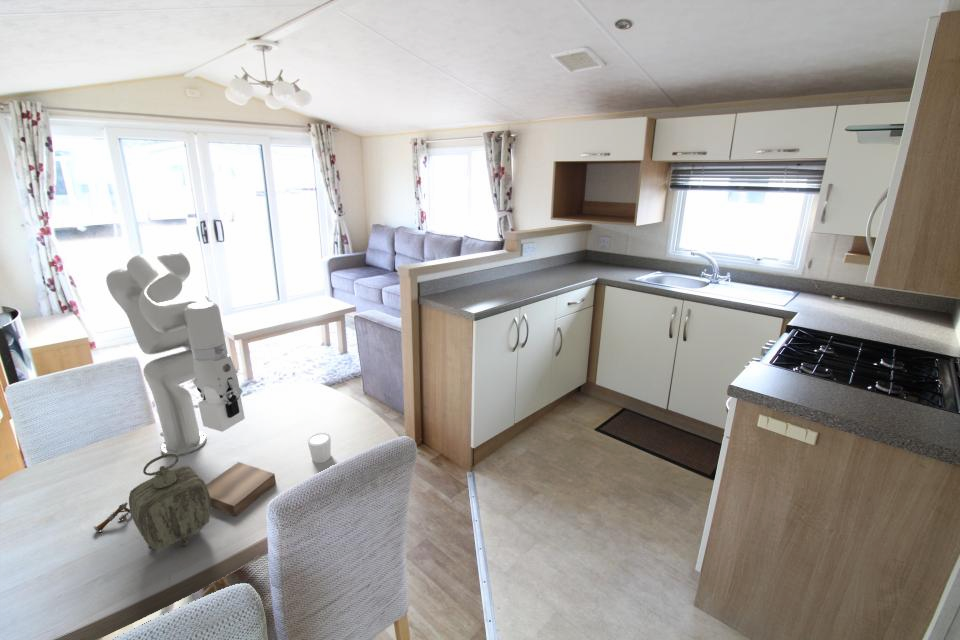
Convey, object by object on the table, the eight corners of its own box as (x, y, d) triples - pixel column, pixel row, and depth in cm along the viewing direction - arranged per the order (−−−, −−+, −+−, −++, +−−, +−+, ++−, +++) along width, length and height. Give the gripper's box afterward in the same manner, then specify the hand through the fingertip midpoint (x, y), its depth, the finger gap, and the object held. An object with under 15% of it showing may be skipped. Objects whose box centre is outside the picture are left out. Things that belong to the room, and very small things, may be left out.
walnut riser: (198, 502, 124) (195, 491, 122) (240, 471, 136) (238, 461, 135) (235, 516, 119) (233, 506, 118) (276, 483, 131) (274, 473, 130)
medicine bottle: (226, 413, 124) (218, 374, 120) (245, 418, 121) (237, 379, 117) (202, 426, 117) (193, 385, 113) (222, 432, 115) (213, 391, 111)
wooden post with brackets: (138, 510, 119) (126, 502, 116) (108, 538, 114) (95, 530, 112) (135, 507, 120) (123, 499, 117) (105, 534, 115) (92, 526, 113)
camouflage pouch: (206, 515, 119) (187, 436, 110) (220, 533, 114) (201, 450, 105) (141, 549, 108) (115, 464, 100) (154, 570, 103) (127, 482, 95)
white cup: (325, 465, 139) (323, 446, 137) (305, 462, 141) (303, 443, 138) (336, 452, 146) (334, 434, 143) (317, 449, 147) (315, 431, 145)
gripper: (248, 350, 113) (258, 411, 119) (198, 340, 119) (211, 399, 124) (222, 362, 106) (235, 426, 112) (171, 351, 112) (186, 412, 118)
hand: (222, 411), depth 118 cm, fingers closed on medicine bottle, 7 cm apart
